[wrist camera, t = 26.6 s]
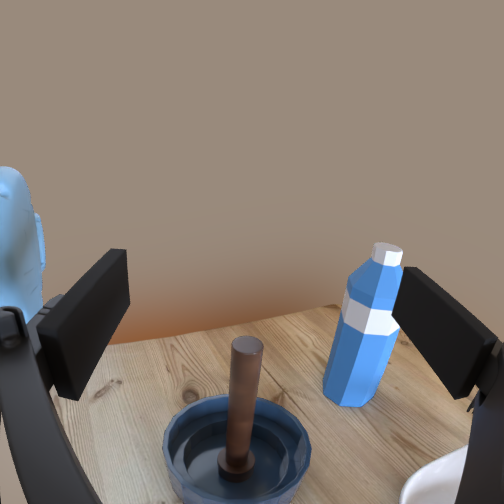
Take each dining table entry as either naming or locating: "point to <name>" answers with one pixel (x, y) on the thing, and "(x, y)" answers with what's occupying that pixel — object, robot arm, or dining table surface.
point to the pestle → (241, 409)
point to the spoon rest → (436, 480)
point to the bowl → (214, 440)
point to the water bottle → (365, 329)
